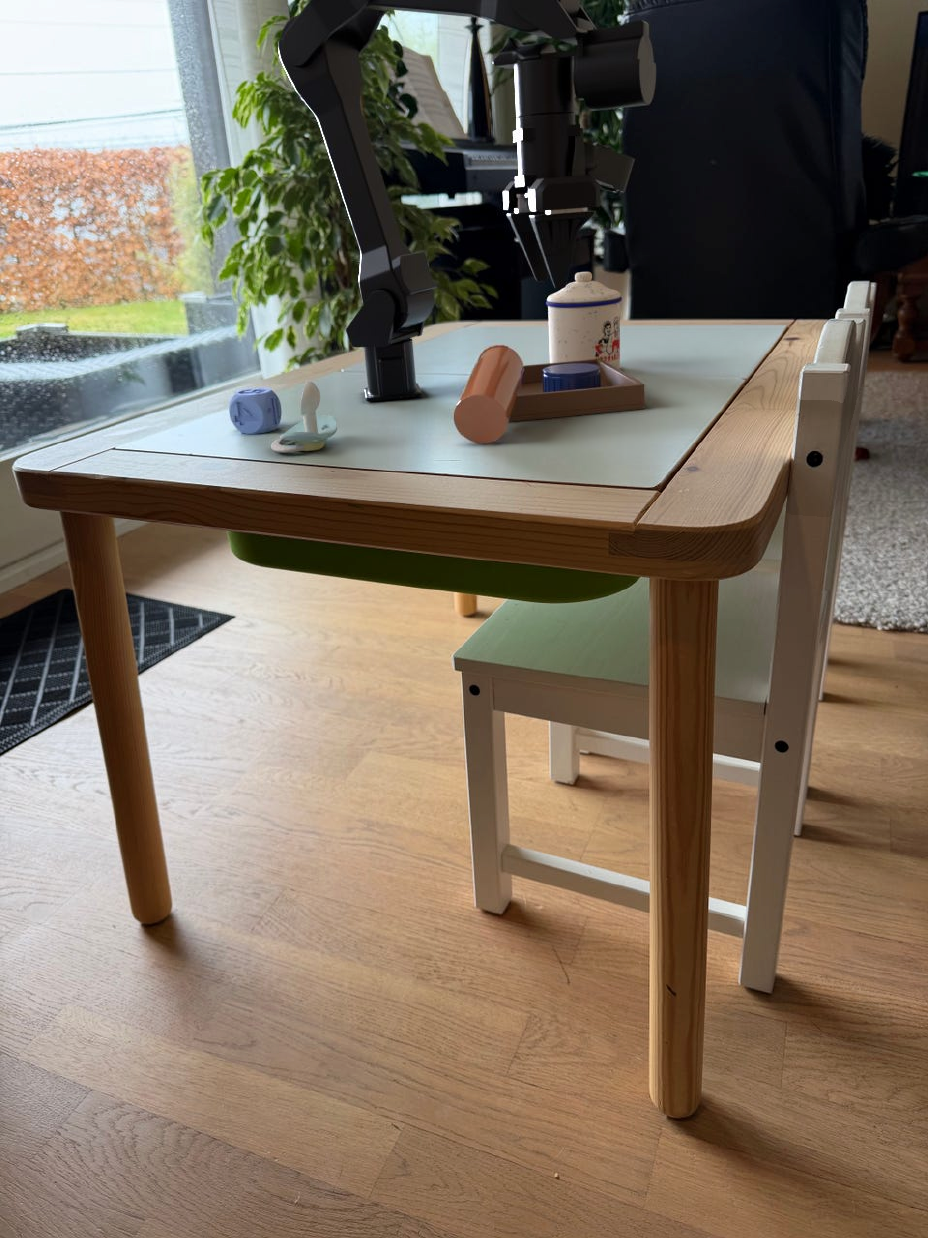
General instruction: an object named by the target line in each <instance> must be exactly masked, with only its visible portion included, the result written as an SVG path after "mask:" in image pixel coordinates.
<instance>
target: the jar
mask: <svg viewBox="0 0 928 1238" xmlns="http://www.w3.org/2000/svg"><path fill="white" fill-rule="evenodd" d="M524 366H525V365H524V362H523V359H522V357H521V356H520V355H519V354H518V353H517V351H515V349H513V348H510V347H509V346H508V345H505V344H495V345H491V346H488V347H487V348H486V349H484V350H483V351H482V352H481V353H480V354H479V356H478V358H477V360H476V363H474V365H473V367H472V369H471V372H470V374H469V376H468V378H467V381H466V383H465V385H464V387H463V390H462V392H461V394H460V396H459V399H458V400H457V403H456V406H455V408H454V410H453V424H454V426H455V429H456V430H457V432H458V433H459V434H460V435H461V437H463V438H464V439H465V440H467V441H469V442H472V443H474V444H479V445H486V444H493V443H494V442H495V441H498V440H499V439H501V438H502V436H503V435H504V434H505V433H506V431H507V427H508V424H509V423H510V422H509V419H510V416H511V413H512V410H513V407H514V405H515V402H516V399H517V396H518V393H519V390H520V387H521V383H522V375H523V371H524Z"/></svg>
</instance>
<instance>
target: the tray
mask: <svg viewBox="0 0 928 1238" xmlns="http://www.w3.org/2000/svg"><path fill="white" fill-rule="evenodd" d="M571 363H587V364H595V365H598V366H600V372H601V387H599V388H588V389H577V390H567V391H556V392H546V393H543V369H544V368H546V367H549V366H554V365H560V364H571ZM523 366H524V371H523V375H522V383H521V387H520V390H519V393H518V396H517V399H516V402H515V405H514V407H513V410H512V413H511V416H510V419H509V422H508V423H511V422H522V421H533V420H534V421H535V420H542V419H552V418H563V417H575V416H583V415H595V414H605V413H615V412H625V411H636V410H637V411H638V410H644V409H645V384H644V383H643V382H641V381H640V380H638V379H636V378H635V377H633V376H631V375H629V374H627V373H626V372H624V371H622V370H621V369H620V368H619V369H617V368H616V367H614V366H612V365H610V364H609V363H607V362H605V361H604V360H602V359H591V360H580V361H569V362H558V363H550V362H548V363H536V364H526V365H523Z"/></svg>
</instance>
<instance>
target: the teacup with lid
mask: <svg viewBox="0 0 928 1238" xmlns="http://www.w3.org/2000/svg"><path fill="white" fill-rule="evenodd" d="M574 280H575V281H573V282H569V283H567V284H566V287H565V288H560V290H558V291H556V292H554V293H551V294H550V295H548V297H547V299H546V302H545V304H546V306H547V308H548V309H547V311H548V312H547V314H548V316H547V317H548V345H549V346H548V347H549V348H548V349H549V363H558V362H569V361H580V360H591V359H602V360H604V361H605V362H607V363H609V364H610V365H612V366H614V367H616V368H617V369H619V370H620V368H621V302H622V300H623V297H622V294H621V293H620V291H618V290H616V289H612V288H610V287H607V286H605V285H604V284H602V283H601V282H600V281H596V280H593V274H592V272H590V271H580V272H576V273H575V274H574Z"/></svg>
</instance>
